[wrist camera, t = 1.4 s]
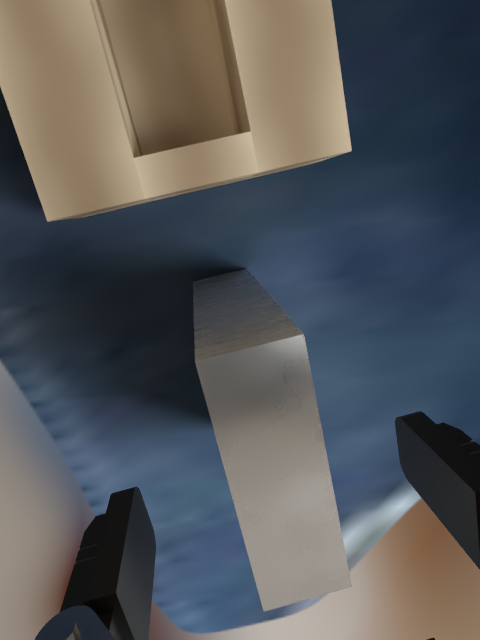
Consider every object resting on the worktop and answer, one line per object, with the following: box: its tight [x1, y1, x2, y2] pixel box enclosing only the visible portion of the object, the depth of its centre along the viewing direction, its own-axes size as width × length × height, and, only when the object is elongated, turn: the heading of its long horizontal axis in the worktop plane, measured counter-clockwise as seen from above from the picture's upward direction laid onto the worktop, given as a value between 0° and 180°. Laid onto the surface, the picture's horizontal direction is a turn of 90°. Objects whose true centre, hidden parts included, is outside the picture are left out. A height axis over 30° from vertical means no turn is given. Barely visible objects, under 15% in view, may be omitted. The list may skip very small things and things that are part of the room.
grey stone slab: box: [193, 269, 352, 611], centre depth 18 cm, size 3×9×12 cm, turn 13°
